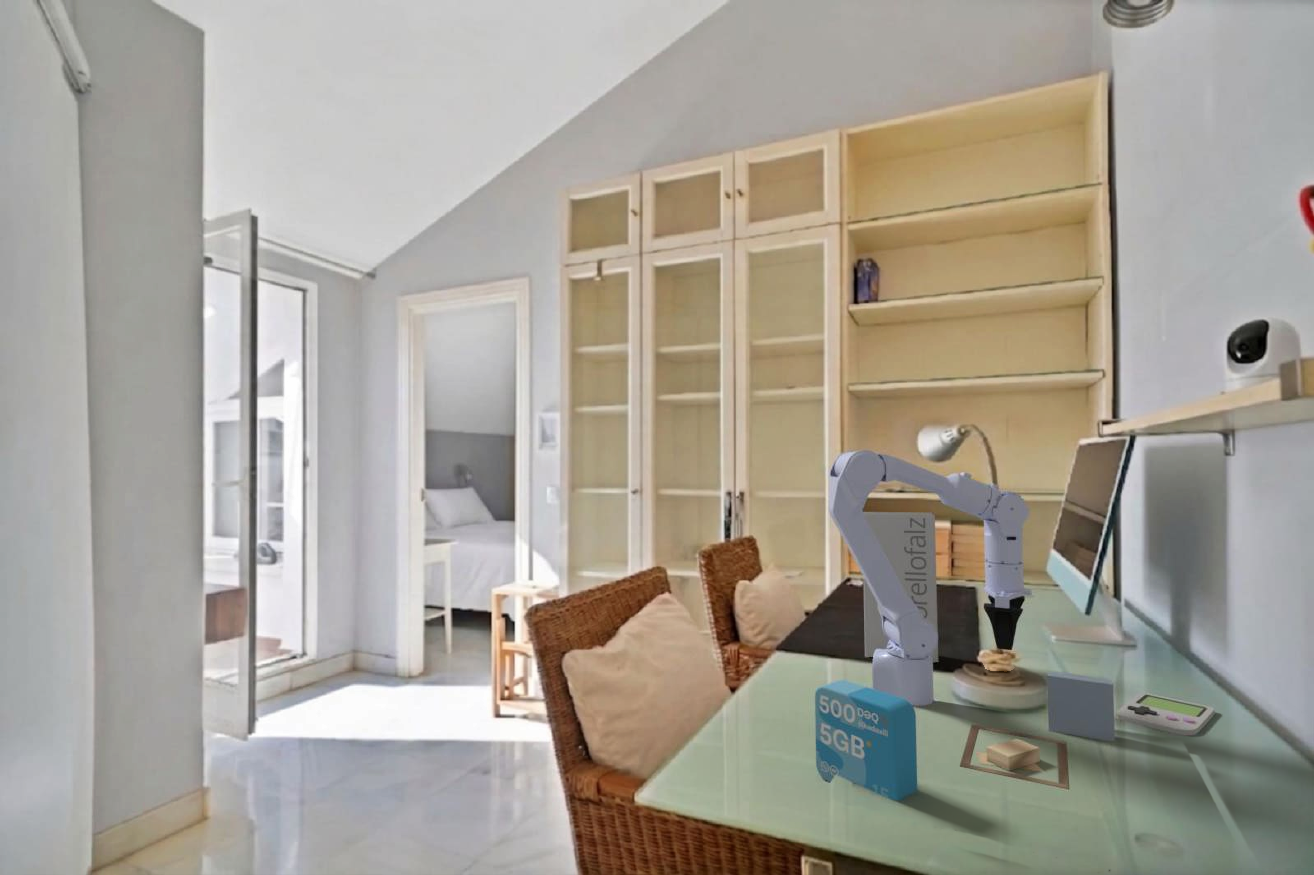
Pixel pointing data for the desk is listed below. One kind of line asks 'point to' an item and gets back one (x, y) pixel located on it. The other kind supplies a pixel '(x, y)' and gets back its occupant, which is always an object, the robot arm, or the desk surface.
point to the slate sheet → (1081, 705)
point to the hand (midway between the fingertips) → (1005, 643)
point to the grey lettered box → (903, 568)
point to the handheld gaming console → (1166, 714)
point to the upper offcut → (1013, 754)
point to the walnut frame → (966, 760)
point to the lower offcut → (983, 760)
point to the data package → (866, 738)
